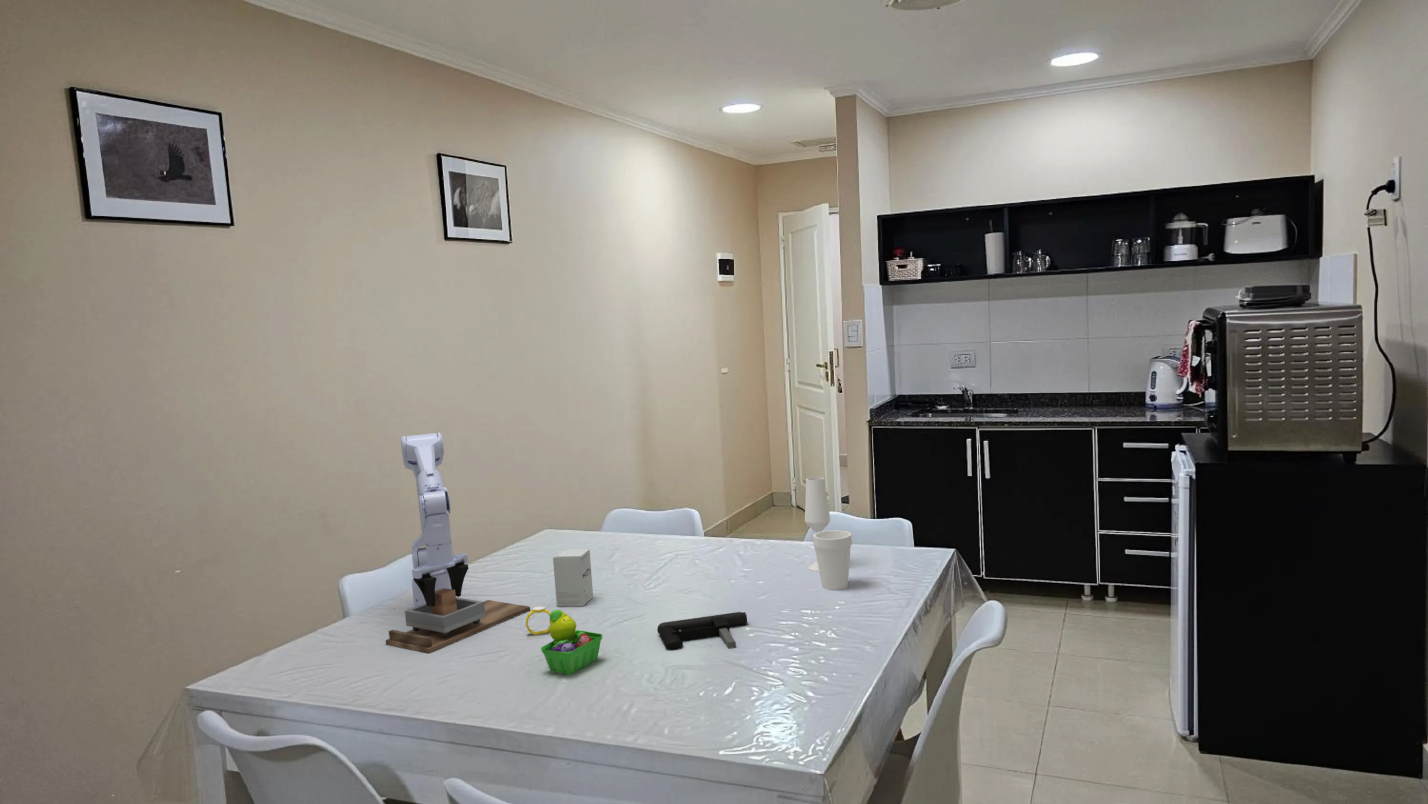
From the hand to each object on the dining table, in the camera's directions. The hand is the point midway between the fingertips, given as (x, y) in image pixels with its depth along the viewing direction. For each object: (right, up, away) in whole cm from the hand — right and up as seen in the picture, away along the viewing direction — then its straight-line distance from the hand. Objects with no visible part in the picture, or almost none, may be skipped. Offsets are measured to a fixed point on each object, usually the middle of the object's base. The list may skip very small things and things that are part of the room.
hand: (444, 600), depth 215 cm
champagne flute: (+90, +1, +34) cm, 97 cm away
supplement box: (+28, -4, +18) cm, 33 cm away
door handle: (+61, -6, -15) cm, 63 cm away
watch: (+23, -7, -4) cm, 24 cm away
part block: (0, -4, 0) cm, 4 cm away
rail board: (+3, -7, +4) cm, 9 cm away
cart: (+1, -6, +1) cm, 6 cm away
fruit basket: (+33, -8, -25) cm, 42 cm away
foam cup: (+92, 0, +16) cm, 94 cm away
